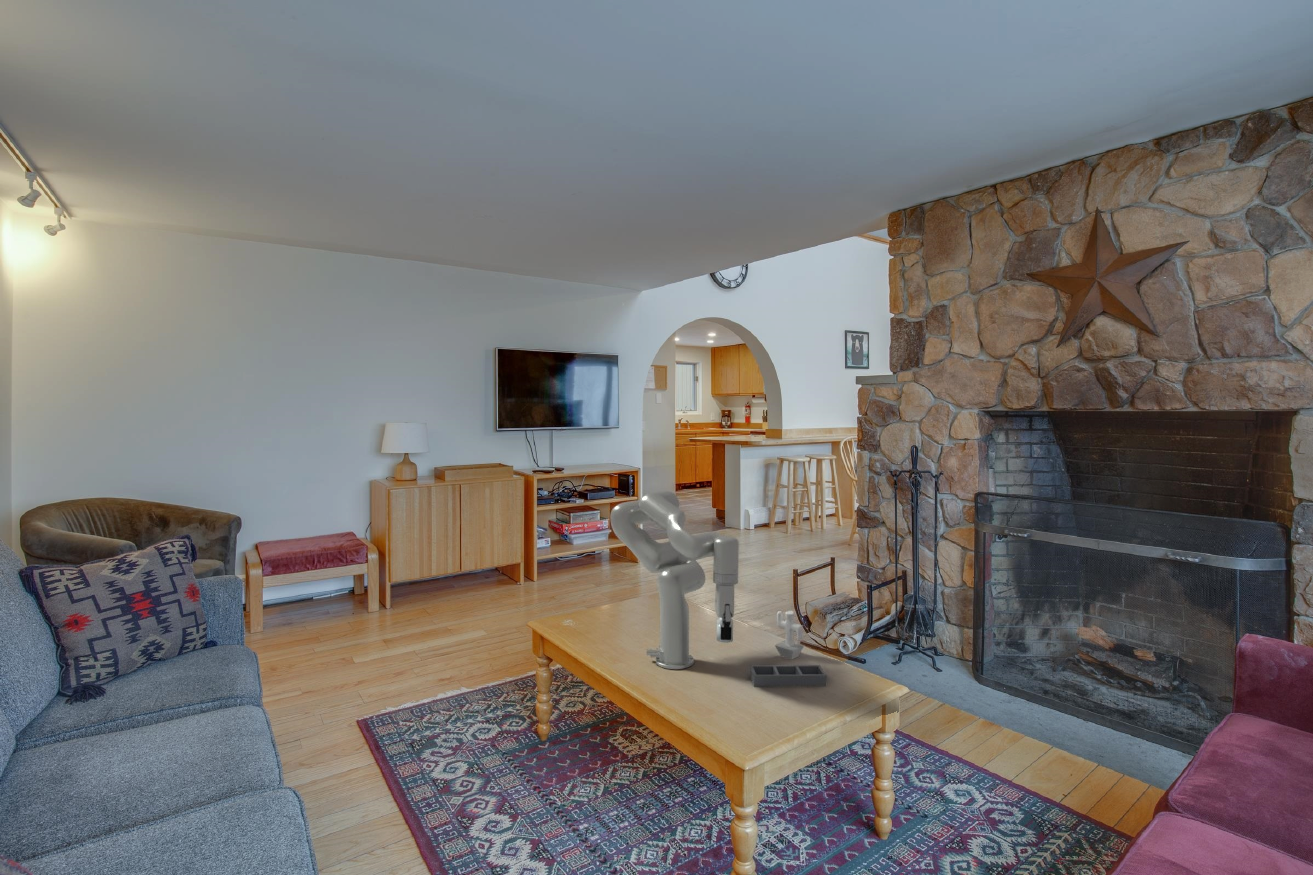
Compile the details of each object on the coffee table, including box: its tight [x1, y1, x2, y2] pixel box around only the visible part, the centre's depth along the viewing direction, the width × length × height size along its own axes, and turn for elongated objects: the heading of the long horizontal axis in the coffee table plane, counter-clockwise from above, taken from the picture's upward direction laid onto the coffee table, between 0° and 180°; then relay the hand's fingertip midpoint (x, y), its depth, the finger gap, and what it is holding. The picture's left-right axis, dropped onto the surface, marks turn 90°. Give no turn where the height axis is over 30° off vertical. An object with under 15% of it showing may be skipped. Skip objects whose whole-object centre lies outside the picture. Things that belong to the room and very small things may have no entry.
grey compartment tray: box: [749, 664, 828, 688], centre depth 197 cm, size 22×8×3 cm, turn 91°
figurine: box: [774, 610, 805, 660], centre depth 217 cm, size 7×9×15 cm
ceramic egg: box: [716, 615, 734, 644], centre depth 197 cm, size 5×5×8 cm
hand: (724, 635), depth 197 cm, fingers closed on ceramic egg, 5 cm apart
